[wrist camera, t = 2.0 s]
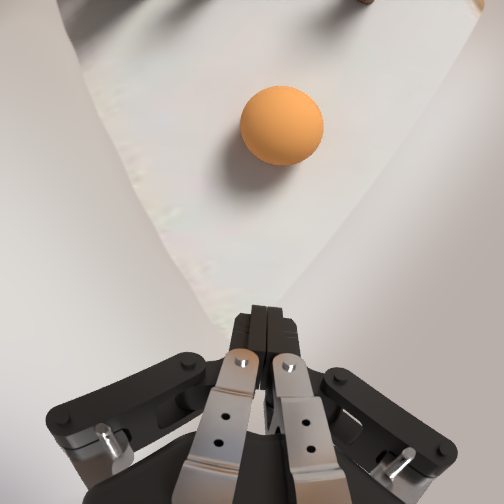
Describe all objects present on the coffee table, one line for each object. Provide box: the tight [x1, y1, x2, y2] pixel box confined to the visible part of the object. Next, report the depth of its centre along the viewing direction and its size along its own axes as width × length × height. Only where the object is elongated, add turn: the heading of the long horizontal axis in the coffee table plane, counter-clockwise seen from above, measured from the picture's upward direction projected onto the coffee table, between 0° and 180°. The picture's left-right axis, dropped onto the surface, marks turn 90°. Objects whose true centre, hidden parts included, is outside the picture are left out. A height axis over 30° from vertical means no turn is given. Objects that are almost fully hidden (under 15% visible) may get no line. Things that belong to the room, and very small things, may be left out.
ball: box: [240, 86, 323, 166], centre depth 19 cm, size 6×6×6 cm
